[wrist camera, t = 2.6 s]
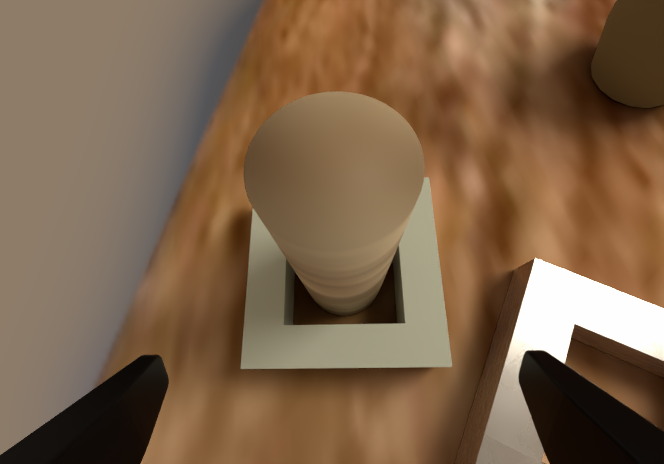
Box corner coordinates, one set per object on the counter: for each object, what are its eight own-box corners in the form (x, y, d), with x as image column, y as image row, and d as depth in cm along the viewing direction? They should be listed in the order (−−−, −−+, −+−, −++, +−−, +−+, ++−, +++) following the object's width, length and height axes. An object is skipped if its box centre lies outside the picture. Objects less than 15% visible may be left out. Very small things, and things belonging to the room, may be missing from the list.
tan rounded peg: (383, 315, 20) (435, 247, 8) (306, 316, 20) (236, 252, 8) (379, 241, 21) (415, 87, 9) (307, 243, 22) (250, 95, 9)
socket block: (709, 614, 15) (777, 663, 12) (450, 475, 17) (466, 494, 15) (732, 358, 18) (789, 358, 16) (514, 269, 20) (535, 258, 18)
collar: (437, 365, 19) (452, 367, 16) (256, 367, 19) (240, 369, 16) (419, 200, 22) (428, 177, 19) (266, 205, 23) (254, 183, 20)
